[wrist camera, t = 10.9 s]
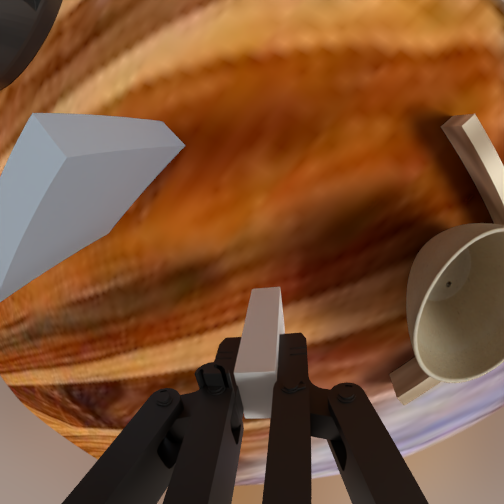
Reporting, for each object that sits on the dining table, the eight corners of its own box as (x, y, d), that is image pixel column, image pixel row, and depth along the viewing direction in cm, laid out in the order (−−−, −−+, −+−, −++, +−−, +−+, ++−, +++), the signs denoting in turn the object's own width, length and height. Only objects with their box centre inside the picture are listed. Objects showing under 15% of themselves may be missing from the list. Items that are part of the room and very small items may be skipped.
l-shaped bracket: (285, 256, 21) (284, 274, 18) (452, 116, 16) (474, 114, 14) (396, 382, 24) (404, 405, 21) (527, 274, 19) (546, 289, 16)
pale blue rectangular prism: (89, 211, 22) (-31, 269, 10) (162, 121, 19) (32, 113, 8) (108, 233, 22) (-6, 306, 11) (185, 145, 19) (66, 157, 8)
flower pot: (421, 346, 22) (451, 405, 16) (353, 264, 21) (379, 319, 14) (507, 268, 19) (557, 309, 13) (455, 171, 18) (517, 188, 11)
